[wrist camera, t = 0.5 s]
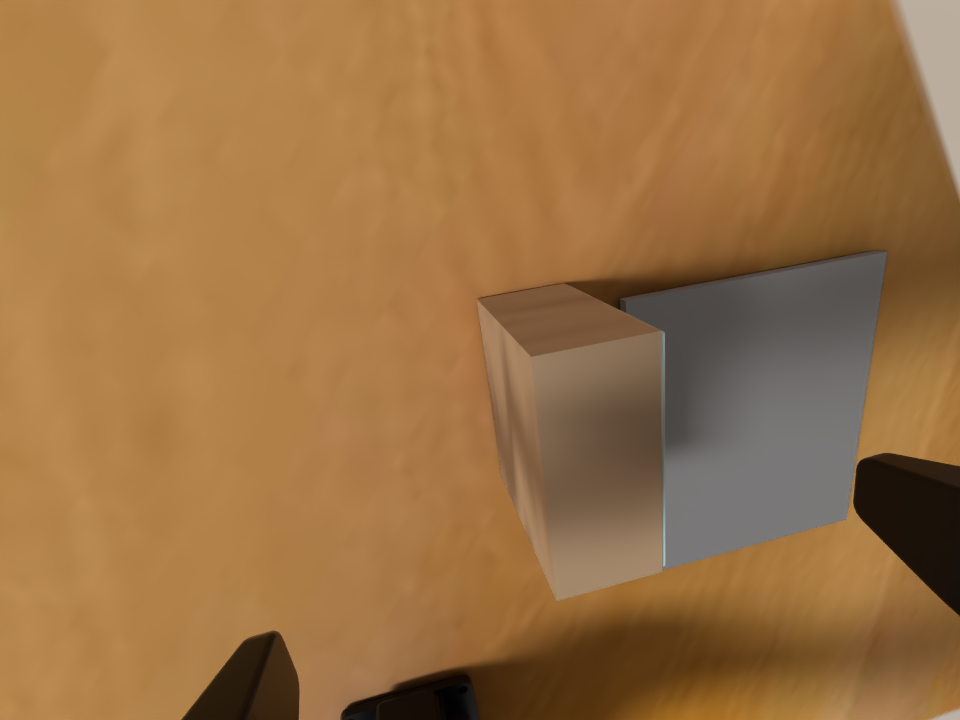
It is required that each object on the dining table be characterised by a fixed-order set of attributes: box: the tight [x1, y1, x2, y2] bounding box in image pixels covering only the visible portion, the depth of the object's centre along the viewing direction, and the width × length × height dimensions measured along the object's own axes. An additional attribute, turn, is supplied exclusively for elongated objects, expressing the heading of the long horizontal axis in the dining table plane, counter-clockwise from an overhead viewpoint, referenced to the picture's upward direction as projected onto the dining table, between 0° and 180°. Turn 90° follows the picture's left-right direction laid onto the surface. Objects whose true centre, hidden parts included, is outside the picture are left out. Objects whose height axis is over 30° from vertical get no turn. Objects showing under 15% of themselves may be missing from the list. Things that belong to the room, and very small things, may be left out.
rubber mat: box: [620, 250, 887, 570], centre depth 23 cm, size 14×12×1 cm
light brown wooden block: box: [477, 283, 665, 601], centre depth 17 cm, size 8×4×7 cm, turn 8°
